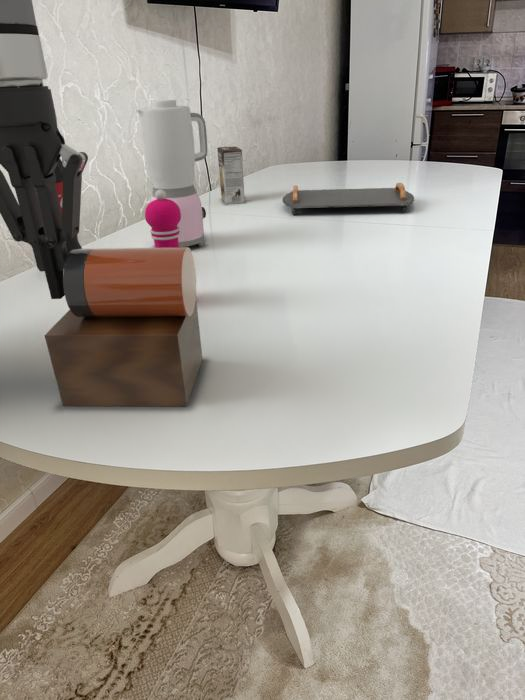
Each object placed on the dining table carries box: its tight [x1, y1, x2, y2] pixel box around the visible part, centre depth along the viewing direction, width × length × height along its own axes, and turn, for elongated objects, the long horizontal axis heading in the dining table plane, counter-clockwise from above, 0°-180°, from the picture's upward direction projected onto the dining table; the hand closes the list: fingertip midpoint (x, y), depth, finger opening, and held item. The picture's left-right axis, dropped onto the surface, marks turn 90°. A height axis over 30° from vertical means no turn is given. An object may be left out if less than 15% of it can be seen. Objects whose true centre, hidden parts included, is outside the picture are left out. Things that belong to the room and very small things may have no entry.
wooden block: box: [44, 299, 204, 407], centre depth 69 cm, size 16×12×10 cm
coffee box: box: [216, 146, 246, 205], centre depth 167 cm, size 9×6×16 cm
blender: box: [136, 99, 208, 248], centre depth 121 cm, size 16×12×32 cm
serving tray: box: [282, 182, 415, 216], centre depth 156 cm, size 39×23×6 cm, turn 86°
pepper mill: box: [144, 190, 181, 248], centre depth 91 cm, size 7×7×20 cm
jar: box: [63, 246, 197, 317], centre depth 64 cm, size 14×8×8 cm, turn 86°
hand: (60, 294), depth 66 cm, fingers closed
